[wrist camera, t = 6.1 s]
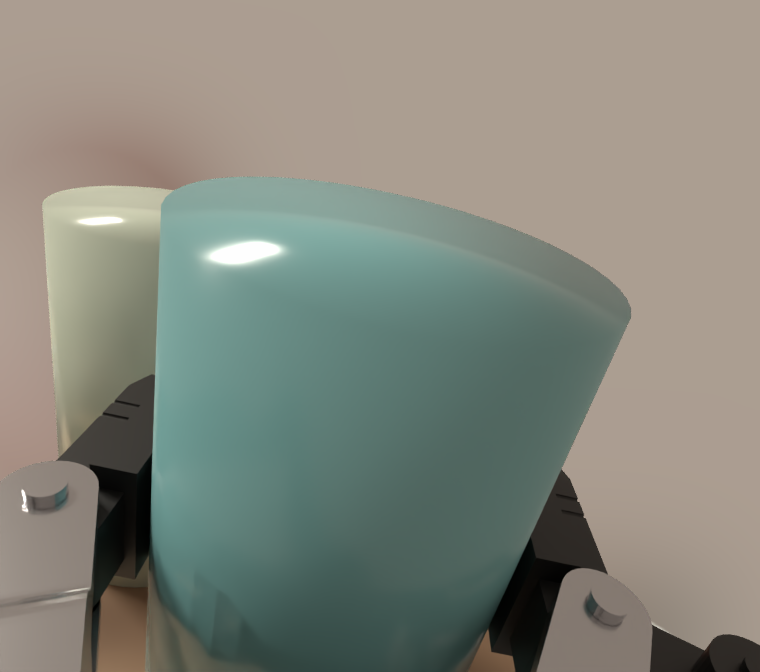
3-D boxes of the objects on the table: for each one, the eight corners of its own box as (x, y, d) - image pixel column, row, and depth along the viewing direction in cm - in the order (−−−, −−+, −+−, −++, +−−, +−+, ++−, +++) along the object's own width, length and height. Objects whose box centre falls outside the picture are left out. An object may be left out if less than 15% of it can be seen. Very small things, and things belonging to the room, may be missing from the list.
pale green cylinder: (57, 485, 21) (37, 178, 16) (211, 456, 24) (233, 194, 19) (71, 612, 17) (49, 244, 12) (256, 556, 20) (301, 250, 15)
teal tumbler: (120, 669, 13) (120, 160, 8) (338, 588, 16) (441, 194, 11) (178, 1018, 8) (270, 379, 3) (461, 808, 12) (727, 326, 7)
